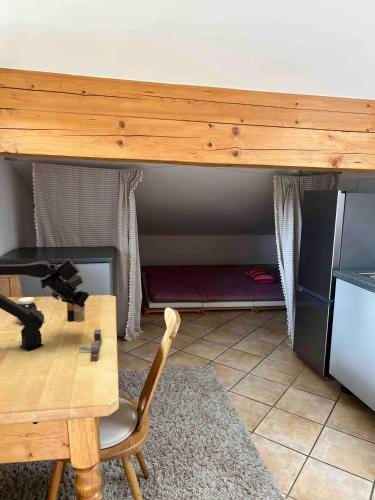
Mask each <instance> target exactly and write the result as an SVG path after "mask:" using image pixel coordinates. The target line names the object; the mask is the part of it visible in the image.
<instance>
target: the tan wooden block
mask: <svg viewBox="0 0 375 500" xmlns="http://www.w3.org/2000/svg"><path fill="white" fill-rule="evenodd" d="M85 312H86V311H85V306H84V307H79V306H75V305H74V321H73V322H76V323H81V322H84V321H85V319H86V318H85Z"/></svg>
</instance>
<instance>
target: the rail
mask: <svg viewBox="0 0 375 500" xmlns="http://www.w3.org/2000/svg"><path fill="white" fill-rule="evenodd" d="M93 332H94V333H93V342H91V345H90V346H80V347H79V348H78V352H77V354H81V353H82V354H86V353H90V362H98V361H99V360H98V359H99V353H100V348H101V344H102V329H101V328H100V329H94V331H93Z"/></svg>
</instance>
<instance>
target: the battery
mask: <svg viewBox="0 0 375 500" xmlns="http://www.w3.org/2000/svg"><path fill="white" fill-rule="evenodd" d="M66 313H67V317H66V319H67V321H68V322H75V321H74V305H72V304H70V303H66Z"/></svg>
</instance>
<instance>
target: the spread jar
mask: <svg viewBox="0 0 375 500" xmlns="http://www.w3.org/2000/svg"><path fill="white" fill-rule="evenodd" d="M17 301H18V303H17V304H19V305H20V306H22V307H24V308H26V309H32V307H34V308H36V309H37V310H39V311H42V312H41V313H42V314H43V315H44V313H43V310H42V309H41V308H37V305H36V302H35V298H34V297H30V296H28V297H21V298H18V300H17ZM45 319H46V318H45V317H44V322H45V321H46V320H45ZM16 321H17V323H18V324H19V325H20V326H24V325H23V324H22V322H21V321H20V320H19V319H18V318H17V317H16Z"/></svg>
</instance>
